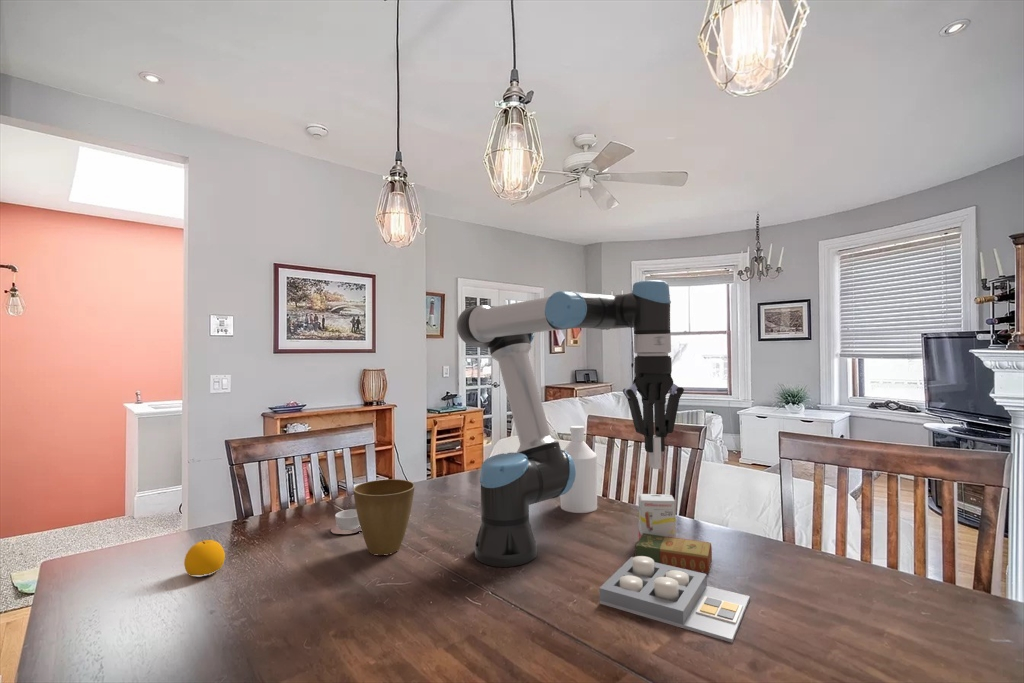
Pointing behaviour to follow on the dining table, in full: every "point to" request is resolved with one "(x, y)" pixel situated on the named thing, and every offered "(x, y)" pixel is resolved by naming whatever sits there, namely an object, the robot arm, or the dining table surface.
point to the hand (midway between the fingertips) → (655, 467)
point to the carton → (676, 552)
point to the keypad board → (679, 602)
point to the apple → (204, 558)
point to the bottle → (581, 475)
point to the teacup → (347, 519)
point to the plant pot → (384, 513)
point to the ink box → (657, 515)
